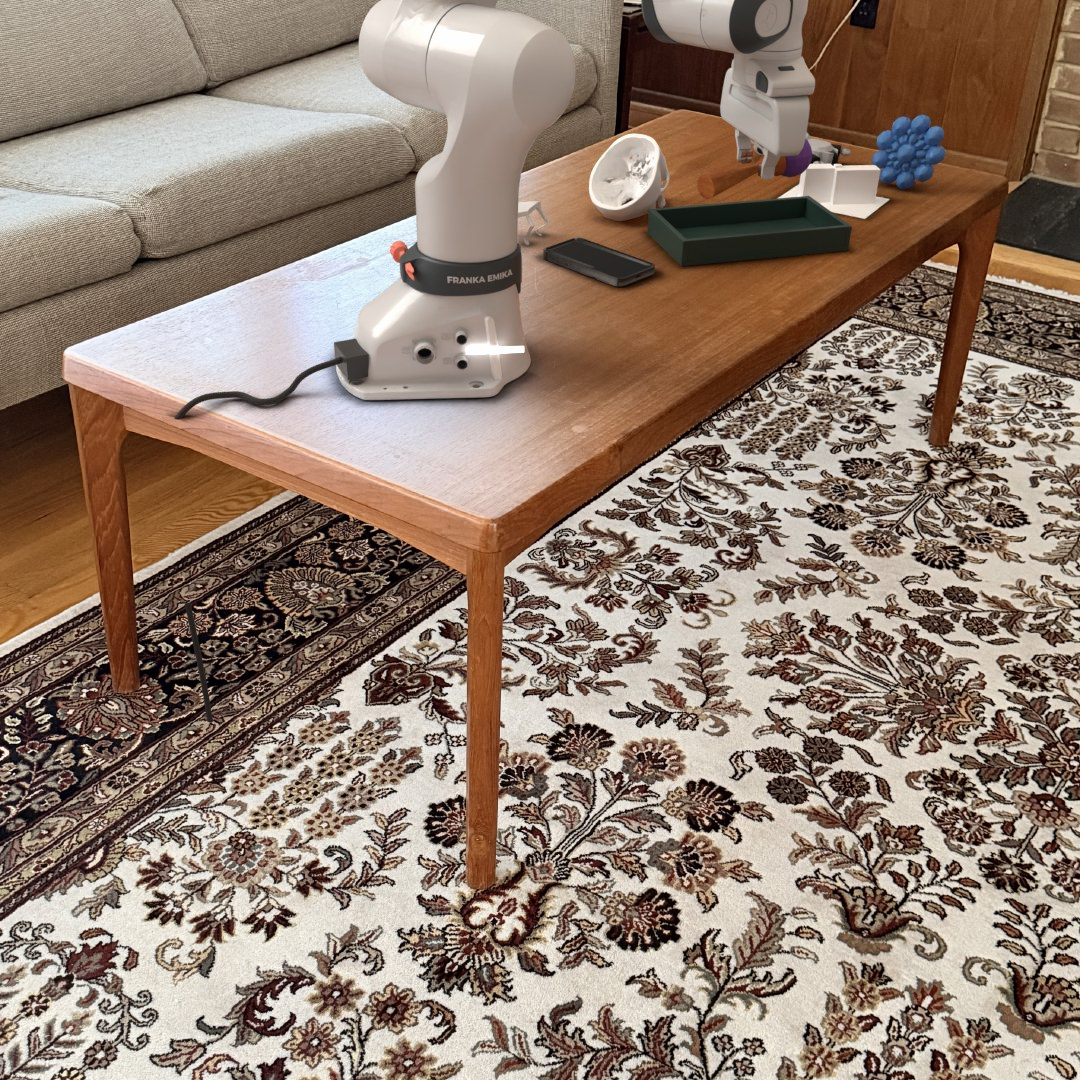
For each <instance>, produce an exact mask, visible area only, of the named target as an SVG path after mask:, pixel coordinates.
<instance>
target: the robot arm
mask: <svg viewBox="0 0 1080 1080" xmlns="http://www.w3.org/2000/svg"><path fill="white" fill-rule="evenodd" d="M498 1H499V0H379V1H378V2H376V3H375V4H374V5H373V6H372V7H371V8H370V9H369V11H368V12H367V14H366V16H365V18H364V19H363V22H362V25H361V28H360V31H359V38H358V56H359V62H360V65H361V68H362V71H363V73H364V75H365V76H366V78H367V80H368V81H369V82H370V83H371V84H372V85H373V86H375V87H376V88H377V89H379V90H381V91H383V92H384V93H385V94H387V95H389V96H390V97H392V98H393V99H396V100H397V101H399V102H401V103H403V104H405V105H406V106H407V105H408V106H410V107H415V108H419V109H423V110H425V111H430V112H433V113H436V114H437V113H438V114H442V115H445V118H446V120H447V132H446V133H447V134H446V138H445V144H444V146H443V150H442V151H440V152H439V153H437V154H436V155H434V156H432V157H431V158H430V159H428V160H427V161H426V162H425V163H424V164H423V165H422V167H420V168H419V170H418V172H417V174H416V178H415V181H414V194H415V197H414V198H415V218H416V220H415V221H416V223H415V224H416V242H414V244H413V245H411V246H410V247H409V248H408V245H407V244H406V243H405V242H404V241H401V240H395V241H393V243H391V244H392V245H390V246H389V248H390V249H389V253H390V255H391V256H392V259H393V260H394V261H395V263H396V264H397V263H398V264H399V274H400V277H399V278H398V279H397V280H395V281H394V282H393V283H392V284H391V285H389V286H388V287H387V288H386V289H384V290H383V291H382V292H380V293H378V295H377V296H375V297H374V298H373V299H371V300H369V301H368V302H367V303H366V304H365V305H363V307H362V308H361V309H360V311H359V313H358V315H357V318H356V322H355V327H354V334H353V338H351V339H345V340H339V341H338V340H337V341H334V342H333V349H334V350H333V351H334V358H333V359H329V360H327V361H324V362H321V363H318V364H315V365H313V366H310V367H308V368H306V369H305V370H304V371H302V372H300V373H299V374H298V375H297V376H296V377H295V379H294V380H293V381H292V382H291V384H290V385H289V386H288V387H287V388H286V389H284V391H282V392H280V394H278V395H276V396H273V397H268V398H258V397H255V396H253V395H251V394H249V393H246V392H243V391H239V390H234V391H233V390H231V391H230V390H229V391H217V392H216V391H215V392H210V393H208V392H207V393H205V394H201V395H199V396H196V397H194V398H192V399H191V400H190V401H188V402H187V403H186V404H185V405H184V406H183V407H181V408H180V410H179V411H178V412H177V414H176V415H175V416H174V420H181V419H183V418H184V417H185V416H186V414H187V413H189V411H190V410H191V409H193V408H194V407H195V406H197V405H198V404H201V403H203V402H206V401H210V400H219V399H236V398H237V399H242V400H245V401H247V402H249V403H251V404H253V405H257V406H270V405H275V404H278V403H280V402H282V401H283V400H284V399H286V398H288V397H289V396H290V395H292V394H293V393H294V392H295V390H296V389H298V387H299V385H300V384H301V383H302V382H303V380H305V379H306V378H307V377H310V376H311V375H313V374H315V373H317V372H319V371H322V370H326V369H329V368H332V367H334V366H335V370H336V375H337V377H338V379H339V382H340V384H341V385H342V386H343V388H344V389H345V390H346V391H347V392H349V393H350V394H351V395H353V396H354V397H356V398H359V399H361V400H363V401H384V400H385V401H386V400H389V401H390V400H391V401H392V400H429V399H466V398H469V399H470V398H472V399H473V398H490V397H494V396H496V395H498V394H499V393H500V392H501V390H502V389H503V388H504V386H506V385H507V384H509V383H510V382H512V381H514V380H516V379H518V378H520V377H521V376H522V375H523V374H525V373H526V372H527V371H528V369H529V368H530V366H531V362H532V360H531V354H530V352H529V349H528V346H527V342H526V336H525V332H524V327H523V322H522V321H523V320H522V313H521V304H520V294H521V291H522V283H523V255H522V245H521V244H520V243H518V225H519V224H518V222H519V221H518V220H519V218H518V202H519V199H520V184H521V179H522V173H523V168H524V165H525V162H526V160H527V157H528V154H529V152H530V150H531V148H532V147H533V144H534V142H535V141H536V139H537V138H538V137H539V136H541V134H542V133H543V132H544V131H545V130H547V129H548V128H550V127H551V126H553V125H554V124H555V123H556V122H557V121H558V120H559V119H560V118H561V117H562V115H563V114H564V113H565V111H566V110H567V108H568V106H569V104H570V102H571V101H572V99H573V95H574V92H575V87H576V81H577V67H576V66H577V65H576V60H575V55H574V51H573V48H572V46H571V44H570V42H569V40H568V39H567V38H566V36H564V34H563V33H561V32H560V31H558V30H557V29H554V27H551V26H549V25H548V24H545V23H543V22H542V21H540V20H537V19H536V18H534V17H531V16H529V15H528V14H526V13H525V14H524V13H521V12H516V11H510V10H507V9H501V8H496V6H497V3H498ZM640 3H641V5H640V6H641V12H642V13H641V14H642V18H643V20H644V23H645V26H646V28H647V29H648V31H649V33H650V34H651V36H652V37H653V38H654V39H656V40H657V41H658V42H660V43H664V44H673V45H674V44H675V45H689V46H693V47H698V48H702V49H708V50H711V51H720V52H725V53H729V54H733V59H732V60H731V67H729V68H728V69H727V70H726V72H725V76H724V80H723V86H722V90H721V91H722V92H721V98H720V106H719V113H720V117H721V119H722V120H723V121H725V122H726V123H727V124H729V125H730V126H731V127H733V128H734V139H735V143H736V149H737V152H736V160H737V161H738V162H739V163H741V165H745V164H746V165H747V164H748V165H749V164H751V163H752V161H753V155H754V149H752V143H751V140H752V141H753V142H757V143H758V144H759V145H761V146H762V147H764V148H763V154H764V155H765V156H764V159H763V162H762V164H759V168H758V170H759V171H758V172H757V175H758V177H760V179H762V180H766V181H767V180H772V179H774V177H775V176H774V172H775V166H776V165H777V163H778V161H779V159H780V157H783V156H795V155H798V154H799V153H800V152H801V150H802V149H803V146H804V143H805V138H806V132H807V133H808V125H809V120H810V119H809V118H810V111H811V110H810V108H811V105H810V104H811V103H810V98H809V97H808V95H809V96H810V95H813V94H814V92H815V88H816V78H815V77H814V75H813V74H812V72H811V71H810V69H809V67H808V65H807V64H806V62H805V61H806V60H805V58H804V57H803V55H802V54H803V46H804V41H803V39H804V38H803V31H802V29H803V23H804V21H805V17H806V15H807V12H808V5H809V0H641V1H640ZM184 608H185V613H186V617H187V623H188V626H189V627H188V628H189V631H190V637H191V642H192V645H193V650H194V651H193V652H194V657H195V660H196V665H197V671H198V675H199V680H200V686H201V687H200V688H201V692H202V698H203V702H204V703H203V704H204V709H205V716H206V722H207V723H213V721H214V719H213V713H212V706H211V699H210V693H209V688H208V683H207V682H208V681H207V676H206V672H205V671H206V670H205V666H204V661H203V656H202V651H201V646H200V640H199V636H198V632H197V631H198V630H197V626H196V622H195V616H194V612H193V607H192V602H185V603H184Z"/></svg>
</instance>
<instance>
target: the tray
mask: <svg viewBox="0 0 1080 1080" xmlns="http://www.w3.org/2000/svg"><path fill="white" fill-rule="evenodd" d="M647 220H648V221H647V230H646V231H647V234H648V235H649V236H650V237H651V238H652V239H653V240H654V241H655V242H656V243H657V244H658V245H659V246H660V247H661V248H662V249H663V250H664V251H665V252H666V253H667V254H668V255H669V256H670V257H671V259H673V260H674V261H675V262H676V263H678V265H679V266H680V267H689V266H699V265H709V264H721V263H730V262H741V261H752V260H753V261H754V260H763V259H773V258H784V257H795V256H805V255H816V254H817V255H818V254H827V253H828V254H829V253H838V252H848V251H849V248H850V241H851V235H852V231H853V230H852V229H853V226H852V225H851V224H850V223H848V222H847V221H845V220H844V219H842V218H841V217H840V216H838V215H837V214H836V213H834V212H831V211H830V210H828V209H827V208H825V207H824V206H823V205H821V204H820V203H818V202H817V201H815V200H814V199H813V198H811V197H810V196H801V197H789V198H779V197H777V198H767V199H766V198H765V199H755V200H754V199H752V200H742V201H741V200H740V201H730V202H729V201H728V202H717V203H706V204H705V203H704V204H691V205H680V206H670V207H669V206H668V207H663V208H657V207H656V208H655V209H649V213H648V217H647Z"/></svg>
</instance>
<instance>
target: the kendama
mask: <svg viewBox="0 0 1080 1080" xmlns="http://www.w3.org/2000/svg"><path fill="white" fill-rule="evenodd" d="M764 156H765V155H764V154H763V155H761V156H760V157H759V159H758V161H757V162H756V163H754V164H750V165H749V164H748V165H745V166H740V167H734V168H730V169H726V170H722V171H721V170H720V171H716V172H710V173H706V174H702V175H700V176H699V177H698V179H697V180H696V181H697V182H696V187H697V191H698V193H699V195H700V196H701V197H702V198H703V199H705V200H710V199H713V198H714V197H716V196H718V195H720V194H722V193H723V192H726V191H727V190H729V189H731V188H733V187H734V186H736V185H738V184H739V183H742V182H743V181H744V180H747V179H748V178H750V177H752V176H754V175H756V174H758V171H759V170H758V168H759V164H762V162H763V159H764ZM811 160H812V149H811V146H810V144H809V142H808V140H807V139H806V138H805V143H804V146H803V149H802V150H801V152H800V153H799V154H798V155H795V156H783V157H780V159H779V161H778V163H777V165H776V166H775V172H774V177H780V176H782V177H786V178H793V177H797V176H801V174H802V173H803V172H804V171H805V170H806V169H807V168H808V166H809V165H810V163H811Z"/></svg>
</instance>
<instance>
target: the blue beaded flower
mask: <svg viewBox="0 0 1080 1080" xmlns="http://www.w3.org/2000/svg"><path fill="white" fill-rule="evenodd" d="M931 123H932V120H931V119H930V116H929V115H926V114H920V115H917V116H916V117H914V118H913V119H912V120H911V118H909V117H907V116H904V115H902V116H900V117H898V118H896V119H895V120H894V121H893V122H892V126H891V130H889V129H887V130H883V131H882V132H881V133H879V134H878V135H877V139H876V142H875V144H876V146H877V148H878V150H877V151H876V152H874V154H873V155H872V157H871V165H876V166H877V167H878V168H879V169H880V176H879V180H880V182H881V183H882V184H885V185H890V184H893V183H894V182H895V184H896V187H897V188H898V189H900V190H908V189H910V188H912V187H913V185H915V182H916V181H917V182H920V183H924V182H928V181H929V180H930V179H931V178H932V177H933V175H934V171H935V168H934V166H936V165H939V164H940V163H941V162H943V160H944V159H945V157H946V152H947V151H946V149H945V148H944V146H942V145H939V144H940V143H941V142H942V141H943V140H944V137H945V130H944V129H943V127H941V126H937V125H934V126H931Z"/></svg>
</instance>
